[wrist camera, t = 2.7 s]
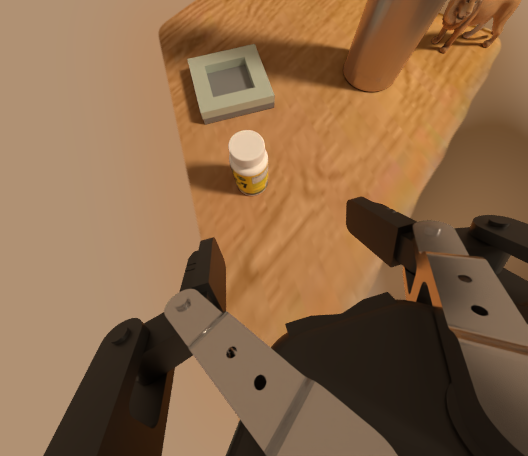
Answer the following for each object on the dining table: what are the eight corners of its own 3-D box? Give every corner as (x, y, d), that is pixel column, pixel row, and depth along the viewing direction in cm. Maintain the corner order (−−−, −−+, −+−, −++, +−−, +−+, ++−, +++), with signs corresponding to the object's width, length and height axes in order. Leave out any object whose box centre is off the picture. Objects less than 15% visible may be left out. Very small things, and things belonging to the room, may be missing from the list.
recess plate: (192, 72, 34) (187, 59, 32) (255, 58, 35) (254, 43, 33) (205, 124, 31) (200, 113, 29) (274, 107, 32) (274, 95, 30)
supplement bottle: (230, 179, 29) (216, 140, 20) (256, 163, 29) (251, 119, 21) (248, 202, 28) (240, 171, 19) (274, 185, 28) (276, 148, 20)
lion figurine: (426, 63, 34) (481, -11, 25) (412, 43, 35) (460, -34, 26) (498, 45, 35) (576, -32, 26) (482, 26, 36) (551, -54, 27)
